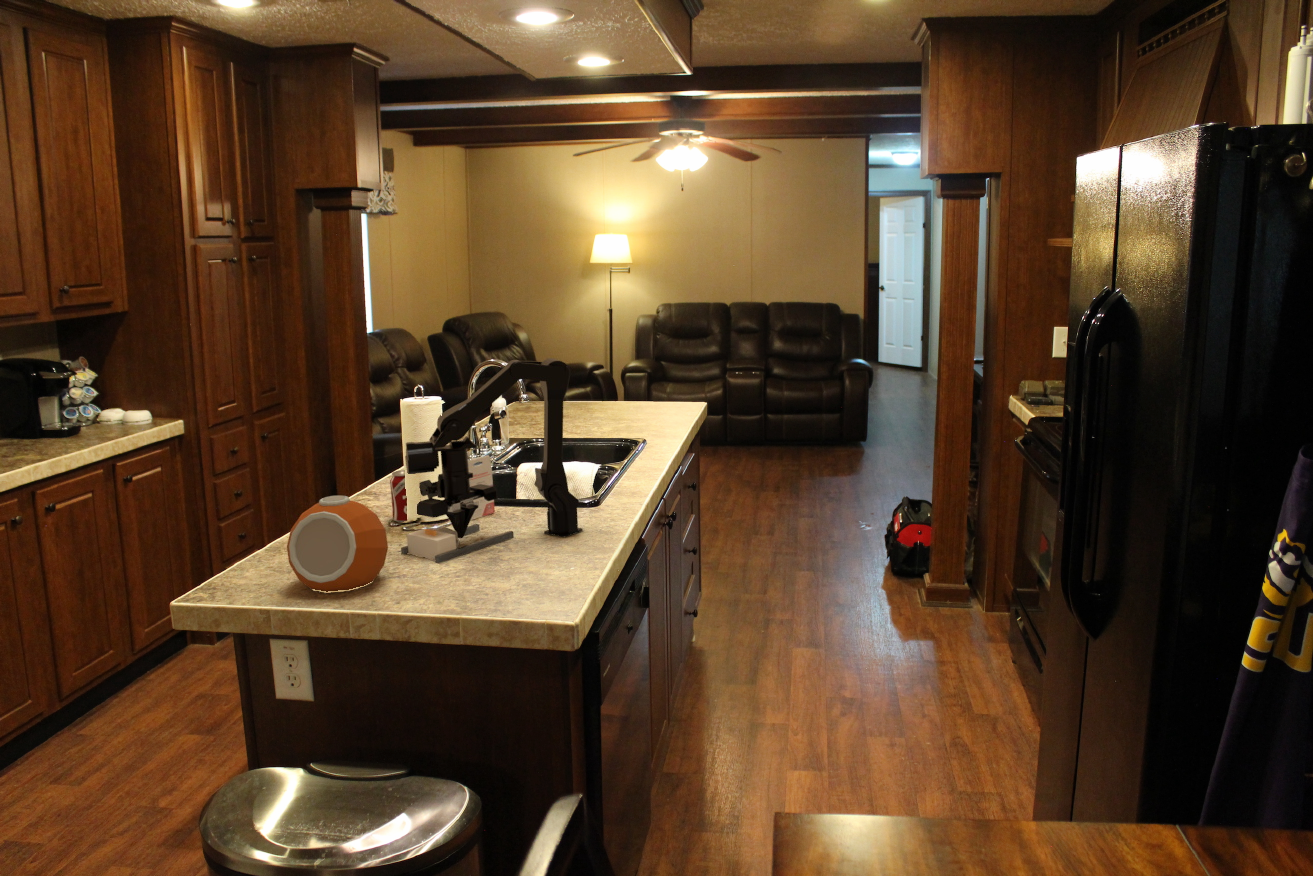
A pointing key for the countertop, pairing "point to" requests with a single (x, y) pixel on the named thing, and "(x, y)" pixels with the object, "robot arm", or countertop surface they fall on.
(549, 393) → the robot arm
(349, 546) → the alarm clock
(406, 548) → the gray rail frame
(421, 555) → the block
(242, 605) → the countertop surface
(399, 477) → the soda can
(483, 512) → the ink cartridge box
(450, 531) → the usb wall charger
